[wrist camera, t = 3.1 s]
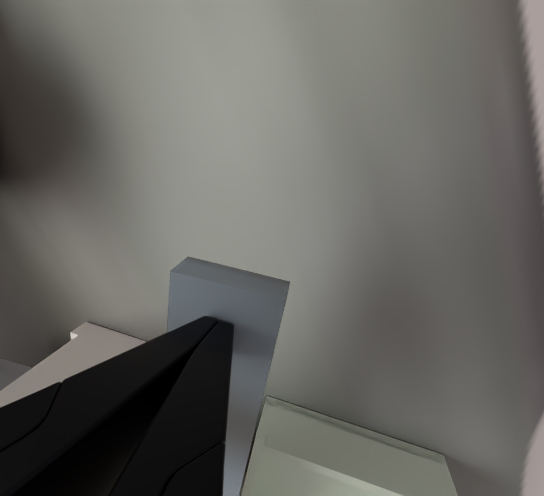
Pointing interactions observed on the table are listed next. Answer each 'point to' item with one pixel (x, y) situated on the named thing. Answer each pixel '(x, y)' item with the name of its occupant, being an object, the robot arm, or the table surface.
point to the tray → (337, 459)
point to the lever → (246, 345)
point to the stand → (70, 360)
